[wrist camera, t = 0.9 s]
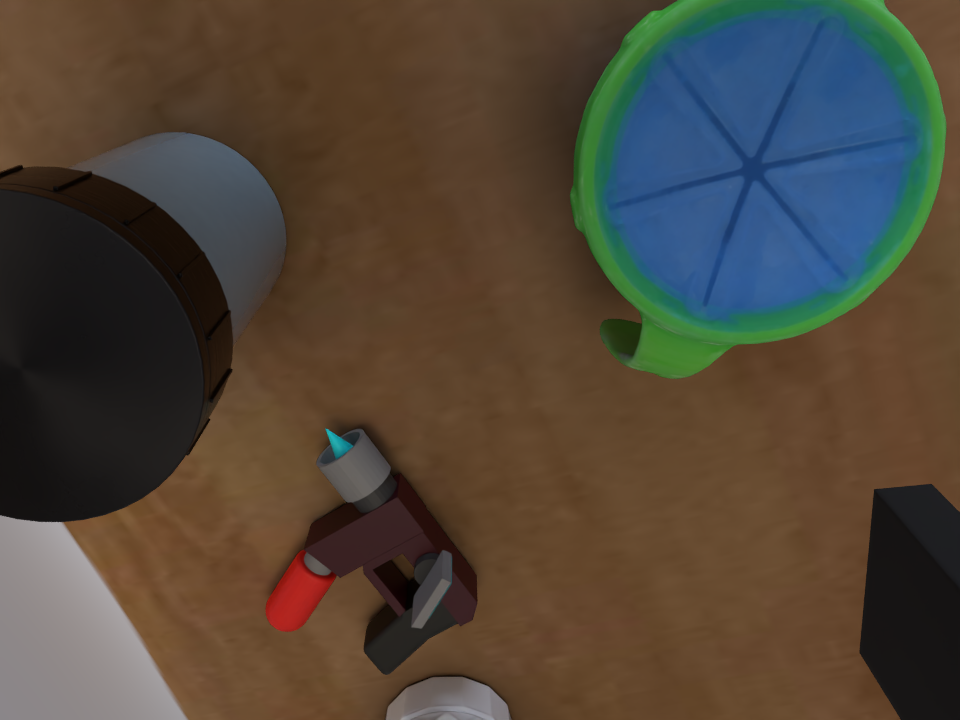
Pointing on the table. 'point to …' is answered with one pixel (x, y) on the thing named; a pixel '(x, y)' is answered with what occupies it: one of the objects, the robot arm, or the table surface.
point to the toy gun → (377, 556)
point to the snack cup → (753, 171)
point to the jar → (209, 209)
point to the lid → (100, 344)
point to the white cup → (448, 701)
